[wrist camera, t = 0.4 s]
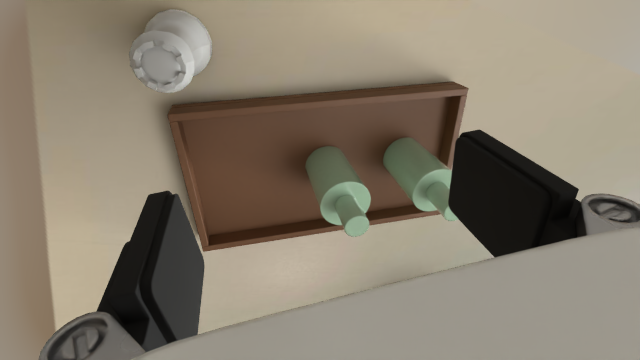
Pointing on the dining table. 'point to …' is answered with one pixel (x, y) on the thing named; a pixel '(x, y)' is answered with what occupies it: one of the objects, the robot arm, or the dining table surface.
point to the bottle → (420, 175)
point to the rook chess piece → (170, 51)
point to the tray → (303, 156)
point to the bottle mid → (338, 190)
